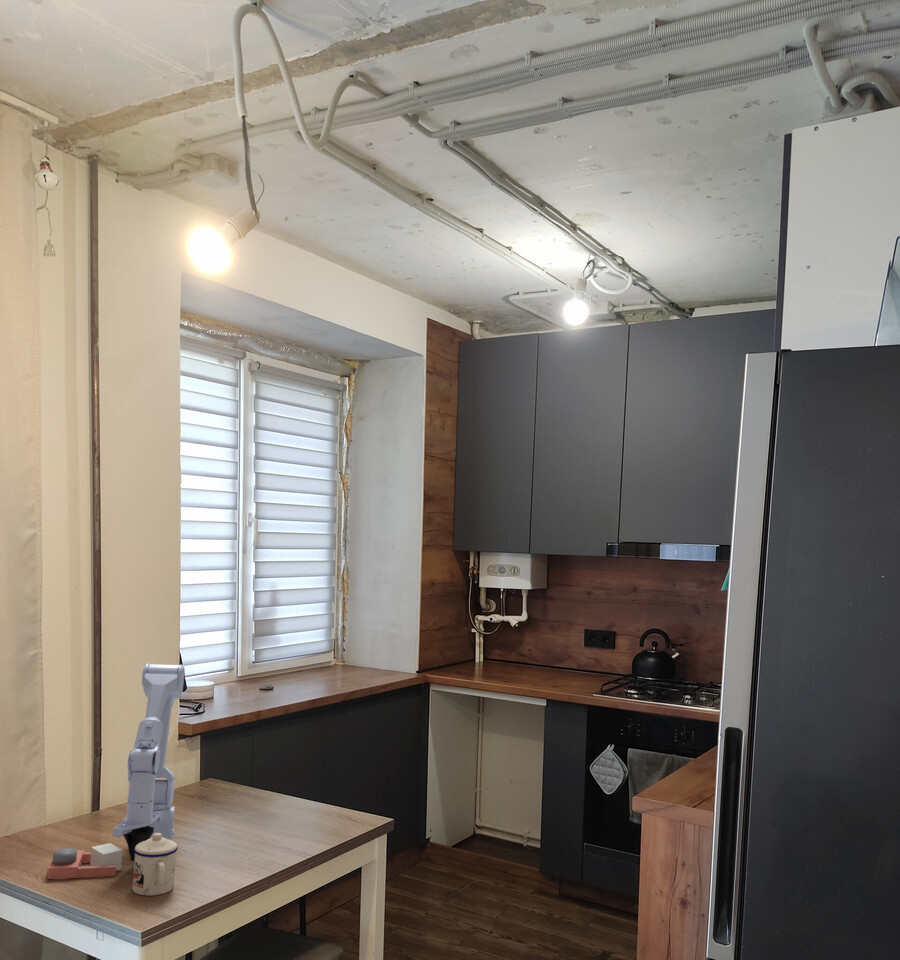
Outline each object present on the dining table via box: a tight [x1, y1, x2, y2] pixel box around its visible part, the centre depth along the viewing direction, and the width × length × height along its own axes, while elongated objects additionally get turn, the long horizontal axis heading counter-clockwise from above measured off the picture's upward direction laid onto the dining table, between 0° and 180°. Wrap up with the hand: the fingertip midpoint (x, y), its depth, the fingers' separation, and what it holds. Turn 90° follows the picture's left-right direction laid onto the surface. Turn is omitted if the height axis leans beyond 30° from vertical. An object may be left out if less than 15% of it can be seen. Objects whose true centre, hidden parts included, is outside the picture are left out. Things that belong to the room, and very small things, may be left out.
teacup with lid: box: [132, 833, 178, 897], centre depth 189 cm, size 12×9×12 cm
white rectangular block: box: [89, 842, 123, 871], centre depth 200 cm, size 4×6×4 cm
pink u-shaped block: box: [47, 847, 117, 880], centre depth 199 cm, size 14×11×4 cm
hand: (135, 860), depth 202 cm, fingers closed
